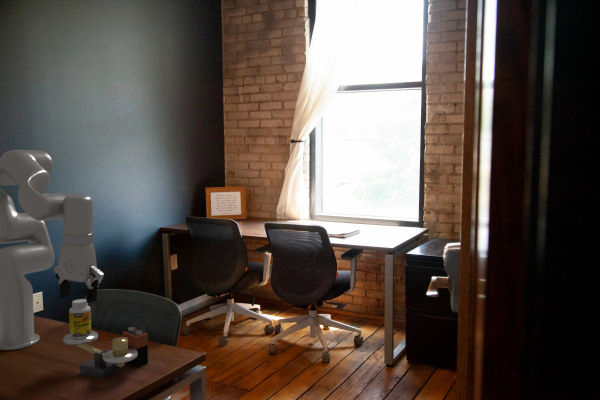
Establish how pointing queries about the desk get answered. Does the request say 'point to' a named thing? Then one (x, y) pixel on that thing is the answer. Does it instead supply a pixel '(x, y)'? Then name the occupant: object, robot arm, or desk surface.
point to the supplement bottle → (80, 319)
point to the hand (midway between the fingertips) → (78, 299)
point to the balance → (99, 357)
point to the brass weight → (120, 346)
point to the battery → (137, 346)
